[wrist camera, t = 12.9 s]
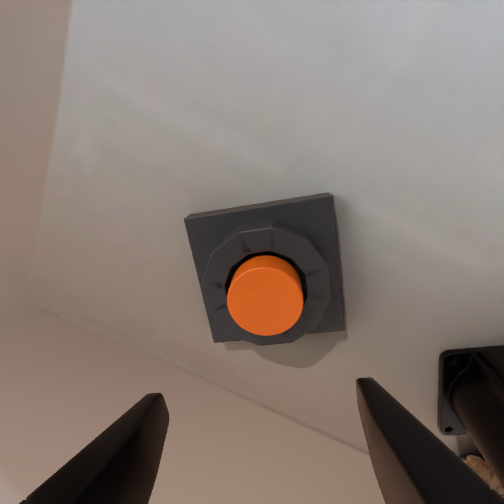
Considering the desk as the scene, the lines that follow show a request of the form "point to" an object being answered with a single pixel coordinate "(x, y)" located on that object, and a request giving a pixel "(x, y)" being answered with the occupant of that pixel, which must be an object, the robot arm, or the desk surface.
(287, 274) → the button
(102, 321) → the desk surface
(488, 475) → the toy
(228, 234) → the button block
